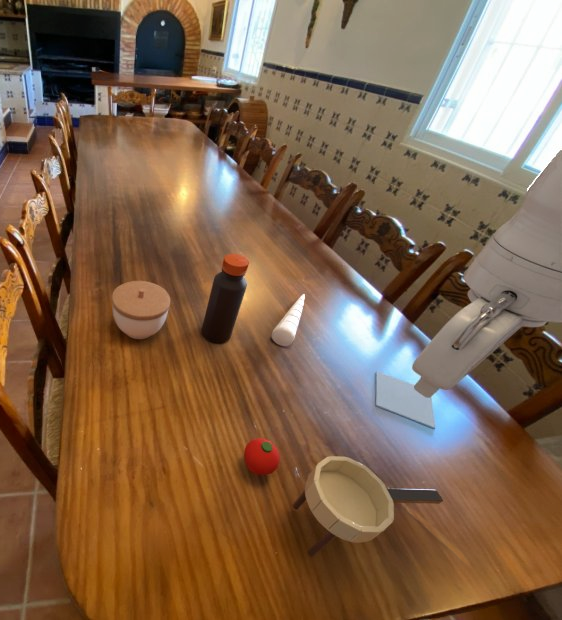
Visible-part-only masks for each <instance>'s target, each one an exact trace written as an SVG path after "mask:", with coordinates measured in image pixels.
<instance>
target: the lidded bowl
mask: <svg viewBox="0 0 562 620" xmlns="http://www.w3.org/2000/svg"><path fill="white" fill-rule="evenodd" d="M111 304H112V305H111V307H112V316H113V319H114V322H115V324H116V326H117V327H118V329H119V330H120V331H121V332H122V333H123V334H125V335H126V336H128V337H129V338H131V339H135V340H145V339H147V338H149V337H151V336H153V335H155V334H156V333H158V332H159V331H160V330H161V329H162V327H163V326H164V324H165V322H166V320H167V317H168V313H169V309H170V306H171V297H170V294H169V293H168V291H167V290H166V289H165V288H163V286H160V285H158V284H156V283H153V282H151V281H146V280H132V281H127V282H124V283H121V284H120V285H118V286H117V287H116V288H115V289H114V290H113V292H112V294H111Z"/></svg>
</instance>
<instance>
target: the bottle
mask: <svg viewBox="0 0 562 620" xmlns="http://www.w3.org/2000/svg"><path fill="white" fill-rule="evenodd" d="M249 265H250V261H249V259H248V258H247V257H246V256H244V255H242V254H238V253H228V254H226V255H224V256H223V260H222V264H221V271H219V272H218V273H216V274H215V275H214V278H213V281H212V285H211V286H212V287H211V288H210V293H209V298H208V300H207V301H208V302H207V306H206V310H205V314H204V318H203V322H202V327H201V334H202V336H203V337H204V338H205V339H206V340H207V341H209V342H211V343H214V344H225V343H227V342H228V341H229V340H230V339H231V337H232V335H233V331H234V328H235V325H236V321H237V319H238V316H239V313H240V309H241V306H242V302H243V300H244V296H245V293H246V290H247V287H248V282H247V280H246V278H245V276H246V274H247V271H248V268H249Z"/></svg>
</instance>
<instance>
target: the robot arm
mask: <svg viewBox="0 0 562 620" xmlns="http://www.w3.org/2000/svg"><path fill="white" fill-rule="evenodd" d="M463 280H464V282H465V284H466V285H467V286H468V287H469V288H470V289H469V290H467V298H468V299H469V301H470V303H469V304H467V305H466V306H464V307H462V308H461V309H460V310H459V311H457V312H456V313H455V314H454V315H453V316H452V317H451V318H450V319H449V320H448V321H447V322H446V323H445V324H444V325H443V326H442V327H441V329H440V330H439V331H438V332H437V333H436V334H435V336H434V337H433V338H432V339H431V340H430V341H429V343H427V345H426V346H425V347H424V348H423V350H421V352H420V353H419V355H417V357H416V358H415V359H414V361H413V363H412V367H411V369H412V371H413V372H414V373H416V374H417V375H418V376H420V378H419V380H418V381H417V382H416V383H415V384H414V385H415V386H414V389H415V390H416V391H417V392H418V393H420V394H421V395H423V396H424V397H427V398H430V397H431V398H432V397H433V396H434V395H435V394H436V393H437V392H438V391H439V390H444V391H448V390H450V389H453V388H454V387H455V386H456V385H457V384H459V382H461V381H462V380H464V378H465V377H467V376H468V375H469V374H470V373H472V371H473V370H474V369H475V368H477V367H478V366H479V365H480V364H481V363H482V362H484V361H485V360H486V359H487V358H488V357H489V356H491V355H492V354H493V353H494V352H495V351H497V349H498V348H499V347H501V346H502V345H503V344H504V343H505V342H506V341H507V340H508V339H510V338H511V337H512V336H513V335H514V334H515V333H516V332H518V331H519V330H520V329H521V328H522V327H525V328H540V327H543V326H544V325H546V324H547V323H548V322H549V323H562V146H561V147H559V150H558V151H556V153H555V154H554V155H553V156H552V157H551V159H550V160H549V161H548V162H547V164H546V165H545V166H544V167H543V169H542V170H541V172H540V173H539V174H537V176H536V177H535V179H534V180H533V182H531V184H530V185H529V187H528V188H527V189H526V192H525V194H524V198H523V200H522V203H521V205H520V207H519V208H518V210H517V211H516V212H515V214H514V215H513V216H512V217H511V218H510V219H509V220H507V221H506V222H504V224H502V225H501V226H500V227H499V228H497V229H496V230H495V232H494V233H493V234H492V236H491V237H490V238H489V240H488V241H487V242H486V244H485V245H484V247H483V248H482V249H481V250H480V251H479V253H478V254H477V255H476V257H475V258H474V260H473V261H472V262H471V264H470V265H469V266H468V267H467V269H466V270H465V271H464V273H463Z"/></svg>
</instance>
